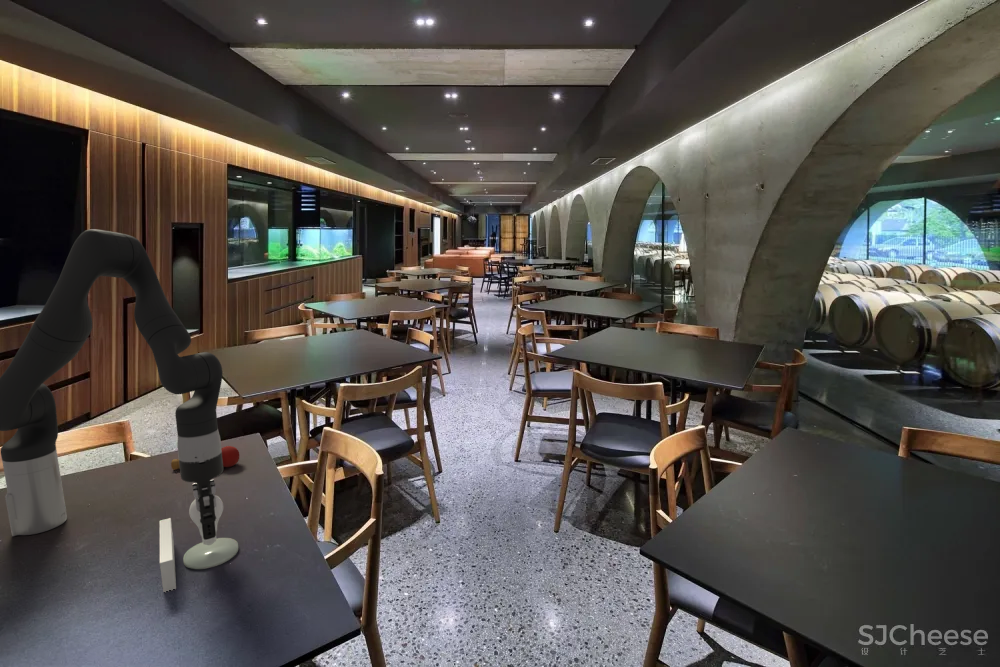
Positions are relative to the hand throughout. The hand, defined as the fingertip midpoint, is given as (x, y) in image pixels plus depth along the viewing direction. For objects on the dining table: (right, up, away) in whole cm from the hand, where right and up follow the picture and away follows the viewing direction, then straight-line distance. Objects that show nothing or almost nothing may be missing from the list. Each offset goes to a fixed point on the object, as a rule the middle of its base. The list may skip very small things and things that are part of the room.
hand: (208, 530), depth 109 cm
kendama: (-25, +1, +44) cm, 51 cm away
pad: (0, -5, +1) cm, 5 cm away
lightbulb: (0, -3, +1) cm, 4 cm away
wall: (-6, -6, -3) cm, 9 cm away
